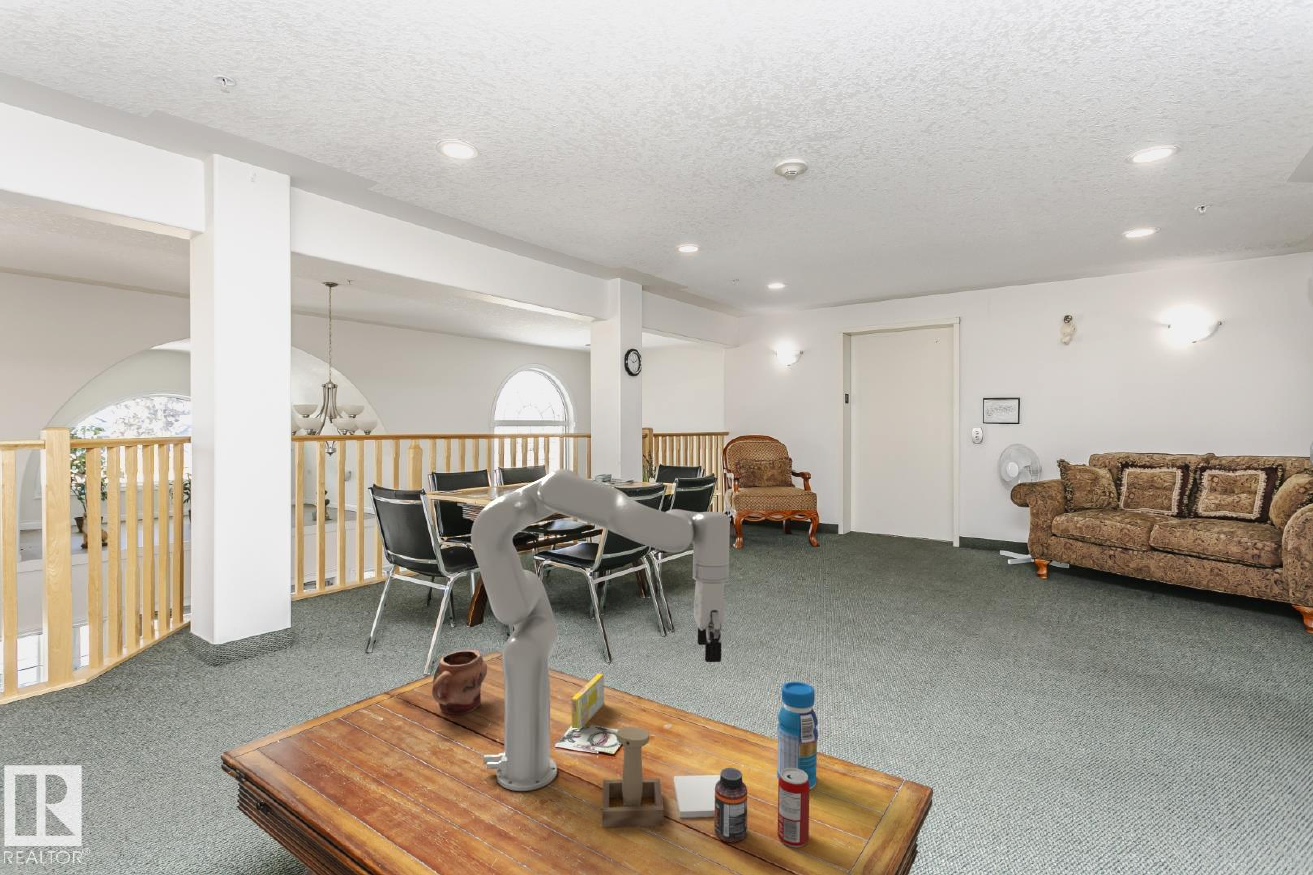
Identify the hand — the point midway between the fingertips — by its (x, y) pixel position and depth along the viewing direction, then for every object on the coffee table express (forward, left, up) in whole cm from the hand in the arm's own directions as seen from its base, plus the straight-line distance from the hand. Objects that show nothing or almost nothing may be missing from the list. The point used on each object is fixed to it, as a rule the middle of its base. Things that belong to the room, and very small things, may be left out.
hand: (708, 652), depth 132 cm
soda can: (+13, -19, -28) cm, 36 cm away
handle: (-16, -9, -28) cm, 33 cm away
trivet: (-1, -6, -27) cm, 28 cm away
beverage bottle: (+19, -1, -28) cm, 33 cm away
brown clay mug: (-60, +35, -28) cm, 75 cm away
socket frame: (-16, -9, -27) cm, 33 cm away
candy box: (-26, +30, -28) cm, 48 cm away
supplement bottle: (+2, -17, -28) cm, 32 cm away
